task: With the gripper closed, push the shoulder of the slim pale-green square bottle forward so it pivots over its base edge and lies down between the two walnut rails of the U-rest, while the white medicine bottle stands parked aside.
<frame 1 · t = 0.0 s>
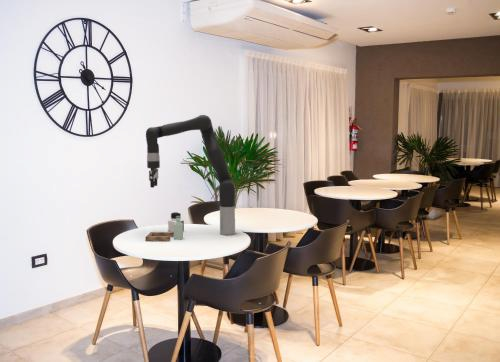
hand: (154, 186, 290), 29 cm above the table, fingers open, 8 cm apart
rest: (161, 238, 279), on the table
medicine bottle: (176, 231, 299), on the table
bottle: (178, 238, 279), on the table
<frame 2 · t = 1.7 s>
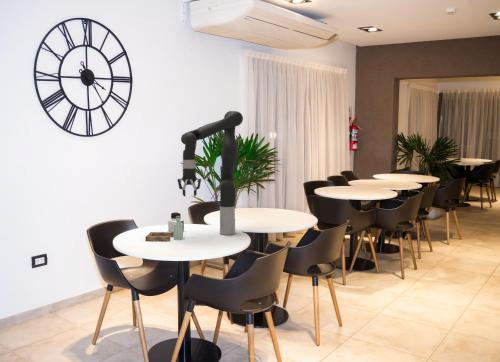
hand: (189, 196, 276), 25 cm above the table, fingers open, 5 cm apart
nothing on the table moved.
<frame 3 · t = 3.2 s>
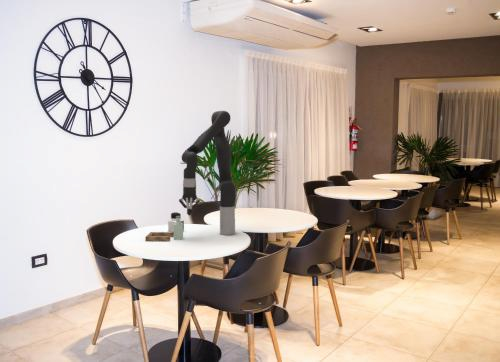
hand: (189, 215, 277), 14 cm above the table, fingers closed
nothing on the table moved.
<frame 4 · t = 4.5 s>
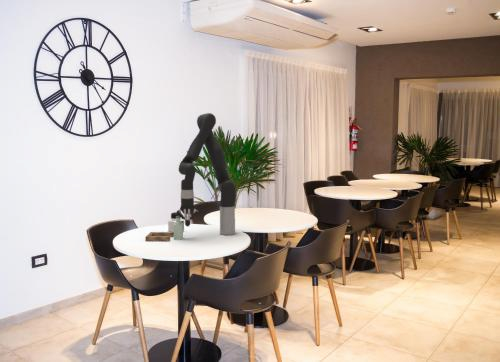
hand: (187, 226, 278), 8 cm above the table, fingers closed
nothing on the table moved.
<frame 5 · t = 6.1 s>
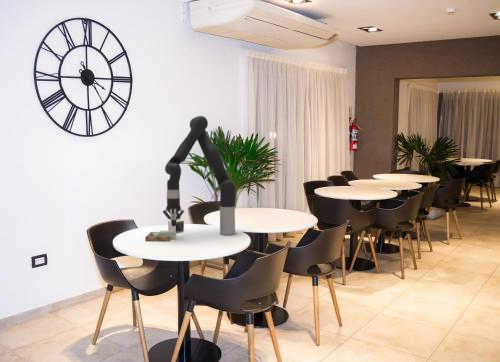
hand: (173, 226, 278), 8 cm above the table, fingers closed
bottle: (174, 235, 279), point 2 cm above the table, tilted 90°
everything else where it was.
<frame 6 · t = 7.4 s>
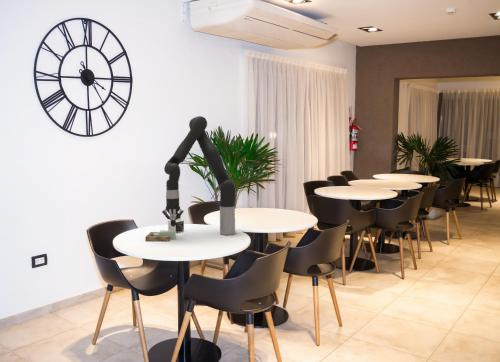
hand: (173, 226, 278), 7 cm above the table, fingers closed
nothing on the table moved.
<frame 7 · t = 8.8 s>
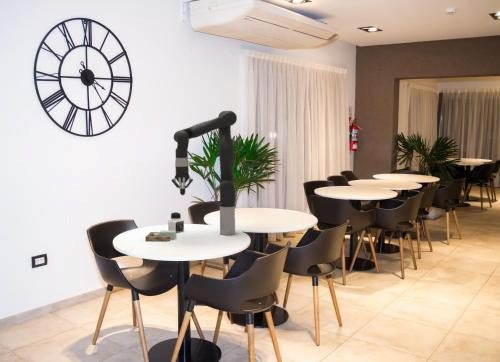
hand: (182, 195, 276), 26 cm above the table, fingers closed
nothing on the table moved.
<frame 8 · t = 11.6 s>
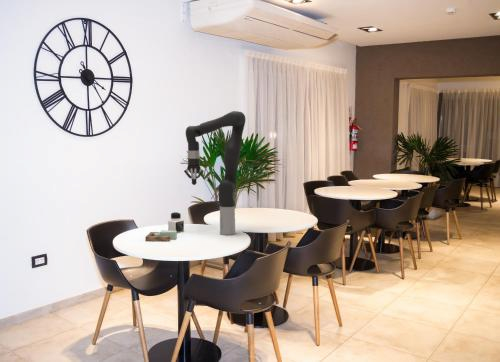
hand: (194, 184, 301), 29 cm above the table, fingers closed
nothing on the table moved.
at the end: bottle tilted 90°; bottle inside the target area (4.0 cm from its centre), point 2.1 cm above the table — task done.
